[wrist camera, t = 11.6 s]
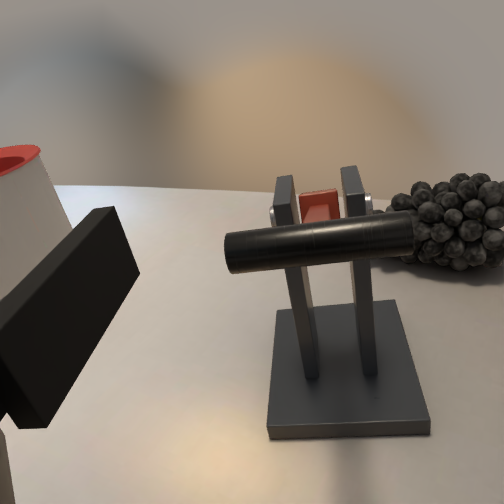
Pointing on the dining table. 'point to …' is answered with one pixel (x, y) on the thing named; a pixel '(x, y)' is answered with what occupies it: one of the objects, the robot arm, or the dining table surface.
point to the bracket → (340, 349)
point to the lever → (320, 238)
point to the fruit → (455, 221)
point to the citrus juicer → (26, 215)
